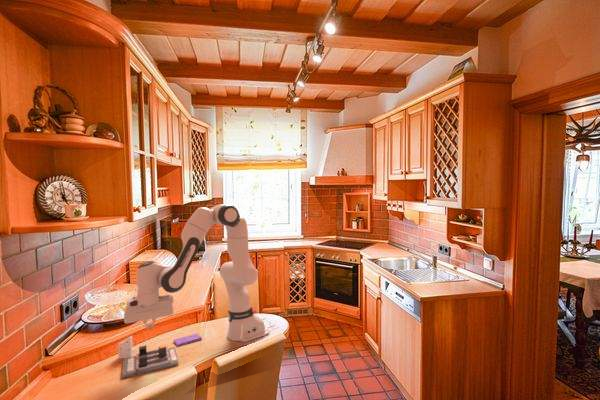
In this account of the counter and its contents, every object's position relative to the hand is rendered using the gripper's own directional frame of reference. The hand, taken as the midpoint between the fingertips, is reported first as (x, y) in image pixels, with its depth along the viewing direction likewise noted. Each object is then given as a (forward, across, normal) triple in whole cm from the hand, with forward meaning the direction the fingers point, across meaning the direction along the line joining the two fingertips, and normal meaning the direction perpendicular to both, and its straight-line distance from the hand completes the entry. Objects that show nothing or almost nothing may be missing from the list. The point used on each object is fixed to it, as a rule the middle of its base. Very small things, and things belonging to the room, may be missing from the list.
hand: (150, 328), depth 146 cm
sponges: (+17, -18, -16) cm, 29 cm away
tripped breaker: (+14, -5, 0) cm, 15 cm away
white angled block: (+16, +10, -13) cm, 23 cm away
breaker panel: (+16, 0, 0) cm, 16 cm away
